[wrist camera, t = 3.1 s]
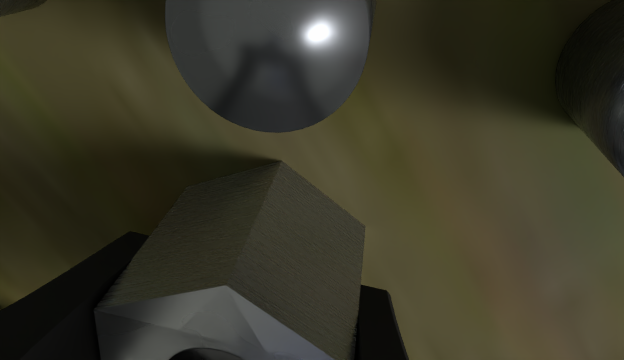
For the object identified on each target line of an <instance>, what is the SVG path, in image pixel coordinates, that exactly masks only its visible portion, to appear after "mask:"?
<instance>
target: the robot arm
mask: <svg viewBox="0 0 624 360" xmlns="http://www.w3.org/2000/svg"><path fill="white" fill-rule="evenodd" d="M148 238H149V236H148V235H144V234H140V233H135V232H131V231H130V232H128V233H126V234H125V235H123V236H122V237H120V238H118V239H117V240H115V241H113V242H112V243H110V244H109V245H107V246H106V247H104V248H102V249H101V250H99V251H98V252H96V253H95V254H93V255H92V256H90V257H88V258H87V259H85V260H84V261H82V262H81V263H79V264H77V265H76V266H74V267H73V268H71V269H70V270H68V271H66V272H65V273H63V274H61V275H60V276H58V277H57V278H55V279H53V280H52V281H50V282H48V283H47V284H45V285H44V286H42V287H40V288H39V289H37V290H35V291H34V292H32V293H30V294H29V295H27V296H25V297H24V298H22V299H20V300H18V301H17V302H15V303H13V304H11V305H10V306H8V307H6V308H4V309H3V310H1V311H0V360H101V356H100V349H99V342H98V336H97V329H96V322H95V315H94V309H95V307H96V306H97V305H98V303H99V302H100V301H101V299H102V298H103V297H104V296H105V294H106V293H107V292H108V290H109V289H110V288H111V286H112V285H113V284H114V282H115V281H116V280H117V278H118V277H119V276H120V274H121V273H122V272H123V271H124V269H125V268H126V267H127V265H128V264H129V263H130V261H131V260H132V259H133V257H134V256H135V255H136V253H137V252H138V251H139V249H140V248H141V247H142V246H143V244H144V243H145V242H146V240H147V239H148ZM354 360H409V358H408V355H407V352H406V349H405V346H404V343H403V340H402V337H401V334H400V331H399V327H398V324H397V320H396V317H395V313H394V309H393V305H392V301H391V296H390V294H389V293H388V292H387V291H386V290H382V289H378V288H373V287H369V286H365V285H361V286H360V298H359V309H358V321H357V333H356V345H355V357H354Z"/></svg>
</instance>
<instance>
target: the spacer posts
mask: <svg viewBox="0 0 624 360" xmlns="http://www.w3.org/2000/svg"><path fill="white" fill-rule="evenodd" d="M46 1H47V0H0V17H1V16H5V15H9V14H13V13H17V12H21V11H25V10H28V9H32V8H35V7H38V6H40V5H41V4H43V3H44V2H46ZM375 8H376V0H166V6H165V24H166V33H167V38H168V43H169V47H170V50H171V53H172V56H173V59H174V61H175V63H176V65H177V68H178V70H179V72H180V73H181V75H182V77H183V78H184V80H185V82H186V83H187V84H188V86H189V87H190V88H191V90H192V91H193V92H194V93H195V94H196V96H197V97H198V98H199V99H200V100H201V101H202V102H203V103H204V104H206V105H207V106H208V107H209V108H210V109H211V110H213V111H214V112H216V113H217V114H218V115H220V116H221V117H223V118H225V119H227V120H229V121H230V122H232V123H235V124H237V125H240V126H242V127H245V128H249V129H252V130H256V131H263V132H278V133H279V132H290V131H295V130H299V129H303V128H306V127H309V126H311V125H314V124H316V123H318V122H320V121H321V120H323V119H325V118H326V117H328V116H329V115H331V114H332V113H333V112H335V111H336V110H337V109H338V108H339V107H340V106H341V105H342V104H343V103H344V102H345V100H346V99H347V98H348V97H349V96H350V94H351V93H352V91H353V90H354V88H355V86H356V85H357V83H358V81H359V78H360V76H361V74H362V72H363V69H364V65H365V62H366V58H367V53H368V47H369V42H370V36H371V31H372V25H373V19H374V14H375ZM556 91H557V95H558V98H559V101H560V104H561V105H562V107H563V109H564V110H565V112H566V113H567V114H568V115H569V116H570V117H571V118H572V120H573V121H574V122H575V123H576V124H577V125H578V126H579V127H580V129H581V130H582V131H583V132H584V133H585V134H586V135H587V136H588V138H589V139H590V140H591V141H592V142H593V143H594V144H595V145H596V146H597V148H598V149H599V150H600V151H601V152H602V153H603V154H604V155H605V157H606V158H607V159H608V160H609V161H610V162H611V163H612V164H613V166H614V167H615V168H616V169H617V170H618V171H619V172H620V173H621V175H622V176H623V177H624V0H612V1H610V2H609V3H607V4H605V5H604V6H602V7H601V8H599V9H598V10H597V11H595V12H594V13H593V14H591V15H590V16H589V17H588V18H587V19H586V20H585V21H584V22H583V23H582V24H581V25H580V26H579V27H578V28H577V30H576V31H575V32H574V33H573V35H572V36H571V37H570V39H569V40H568V42H567V44H566V46H565V47H564V49H563V51H562V54H561V56H560V59H559V62H558V66H557V70H556Z"/></svg>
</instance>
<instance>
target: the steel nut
mask: <svg viewBox="0 0 624 360" xmlns="http://www.w3.org/2000/svg"><path fill="white" fill-rule="evenodd" d="M364 238H365V226H364V225H363V224H362V223H361V222H359V221H358V220H357V219H356V218H354V217H353V216H352V215H350V214H349V213H348V212H347V211H345V210H344V209H343V208H342V207H340V206H339V205H338V204H336V203H335V202H334V201H333V200H331V199H330V198H329V197H328V196H326V195H325V194H324V193H322V192H321V191H320V190H319V189H317V188H316V187H315V186H314V185H312V184H311V183H310V182H308V181H307V180H306V179H305V178H303V177H302V176H301V175H300V174H298V173H297V172H296V171H294V170H293V169H292V168H291V167H289V166H288V165H287V164H286V163H284V162H283V161H279V162H276V163H272V164H268V165H264V166H261V167H257V168H253V169H250V170H246V171H242V172H239V173H235V174H231V175H228V176H224V177H220V178H217V179H213V180H209V181H205V182H202V183H198V184H194V185H191V186H187V188H186V189H185V190H184V192H183V193H182V194H181V195H180V197H179V198H178V199H177V201H176V202H175V203H174V205H173V206H172V207H171V209H170V210H169V211H168V213H167V214H166V215H165V217H164V218H163V219H162V220H161V222H160V223H159V224H158V226H157V227H156V228H155V230H154V231H153V232H152V234H151V235H150V236H149V238H148V239H147V240H146V242H145V243H144V244H143V246H142V247H141V248H140V249H139V251H138V252H137V253H136V255H135V256H134V257H133V259H132V260H131V261H130V263H129V264H128V265H127V267H126V268H125V269H124V271H123V272H122V273H121V274H120V276H119V277H118V278H117V280H116V281H115V282H114V284H113V285H112V286H111V288H110V289H109V290H108V292H107V293H106V294H105V296H104V297H103V298H102V299H101V301H100V302H99V303H98V305H97V306H96V307H95V309H94V315H95V322H96V329H97V336H98V342H99V349H100V356H101V360H354V357H355V345H356V333H357V321H358V309H359V298H360V286H361V274H362V262H363V250H364Z"/></svg>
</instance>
